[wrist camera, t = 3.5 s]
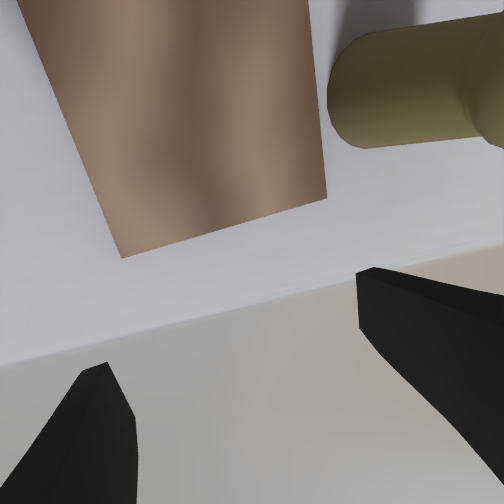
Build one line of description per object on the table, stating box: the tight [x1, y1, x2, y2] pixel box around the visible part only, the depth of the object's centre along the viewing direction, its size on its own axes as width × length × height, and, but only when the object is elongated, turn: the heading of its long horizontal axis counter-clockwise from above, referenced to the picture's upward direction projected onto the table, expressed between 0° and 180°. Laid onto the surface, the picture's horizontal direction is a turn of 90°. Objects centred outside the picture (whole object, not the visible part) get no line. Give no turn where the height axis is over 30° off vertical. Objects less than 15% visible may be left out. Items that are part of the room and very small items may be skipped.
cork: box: [327, 10, 504, 149], centre depth 14 cm, size 6×6×11 cm
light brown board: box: [17, 0, 327, 258], centre depth 16 cm, size 12×12×1 cm
